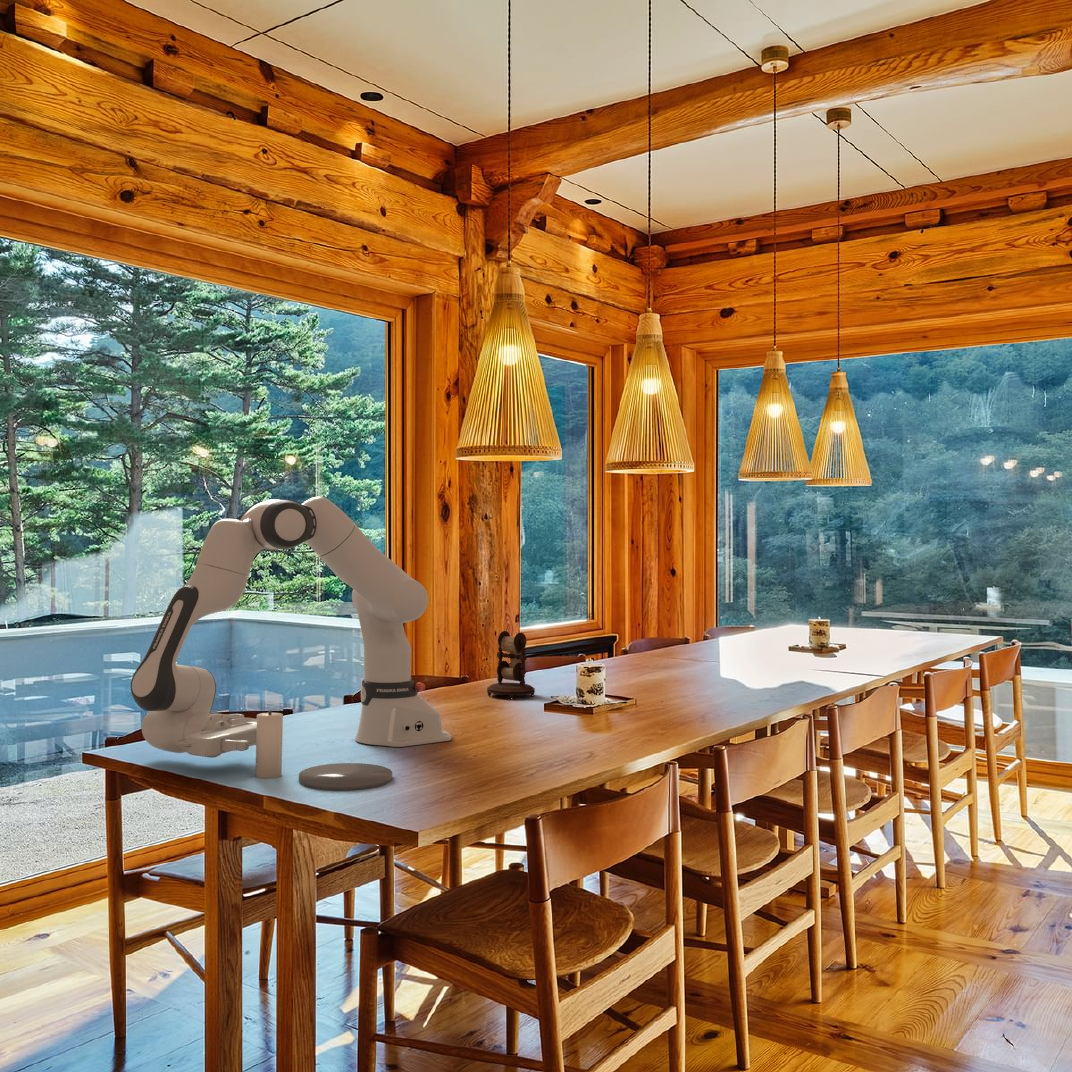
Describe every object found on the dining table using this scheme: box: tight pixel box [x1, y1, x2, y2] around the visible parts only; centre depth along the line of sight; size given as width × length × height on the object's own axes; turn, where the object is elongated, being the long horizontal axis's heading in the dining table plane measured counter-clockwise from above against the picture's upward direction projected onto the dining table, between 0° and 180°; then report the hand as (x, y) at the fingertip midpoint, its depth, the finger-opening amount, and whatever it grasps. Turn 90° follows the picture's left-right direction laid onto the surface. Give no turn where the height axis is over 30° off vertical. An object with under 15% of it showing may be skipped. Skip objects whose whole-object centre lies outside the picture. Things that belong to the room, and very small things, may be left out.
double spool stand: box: [486, 630, 536, 699], centre depth 306 cm, size 15×15×20 cm
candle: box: [254, 710, 284, 779], centre depth 196 cm, size 5×5×13 cm
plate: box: [298, 762, 393, 792], centre depth 194 cm, size 18×18×1 cm
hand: (262, 741), depth 197 cm, fingers open, 8 cm apart
